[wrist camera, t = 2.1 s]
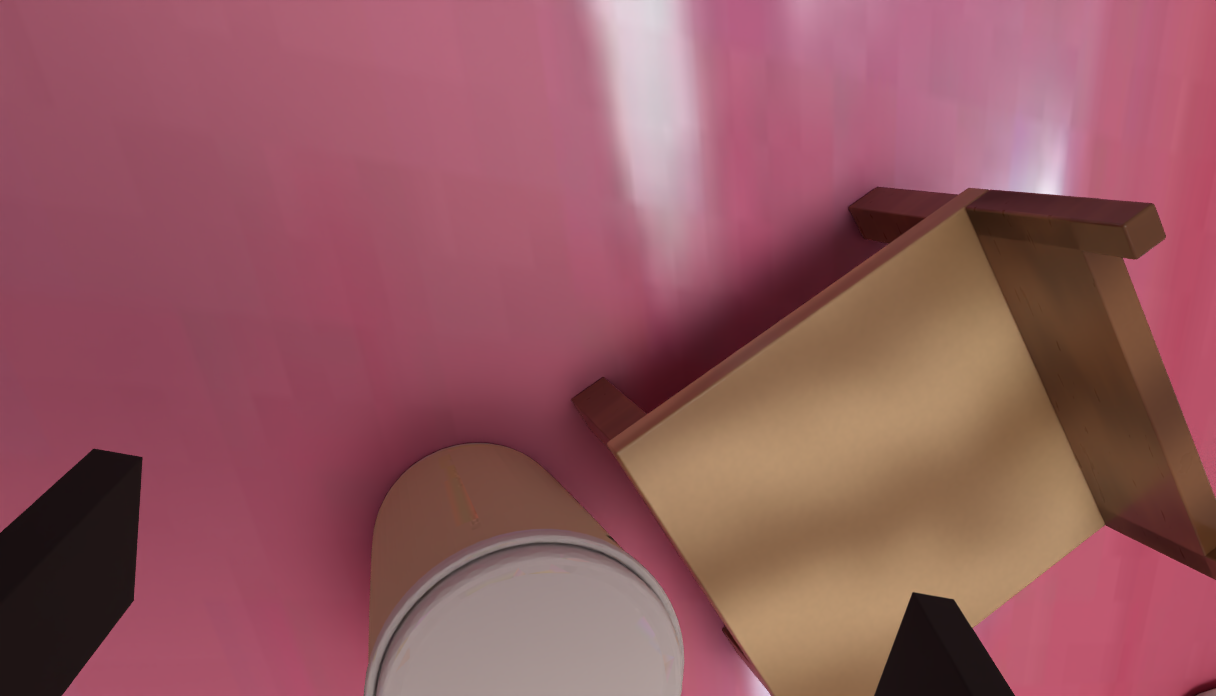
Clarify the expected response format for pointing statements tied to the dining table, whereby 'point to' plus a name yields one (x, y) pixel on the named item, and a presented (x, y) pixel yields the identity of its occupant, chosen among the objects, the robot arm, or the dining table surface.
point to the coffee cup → (509, 589)
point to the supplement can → (1208, 693)
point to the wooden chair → (921, 433)
